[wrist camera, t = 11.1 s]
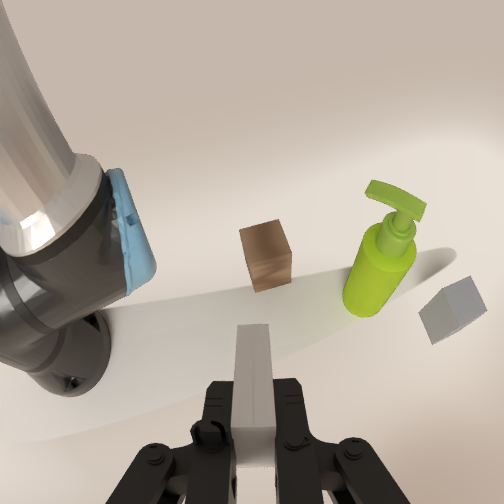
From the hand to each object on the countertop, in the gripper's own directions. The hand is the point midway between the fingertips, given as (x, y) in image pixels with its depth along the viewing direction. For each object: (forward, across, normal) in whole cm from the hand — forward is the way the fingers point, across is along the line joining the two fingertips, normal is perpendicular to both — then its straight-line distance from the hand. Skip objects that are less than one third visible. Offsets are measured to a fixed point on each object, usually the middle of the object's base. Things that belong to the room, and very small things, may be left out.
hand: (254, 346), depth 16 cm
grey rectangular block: (+19, +25, -13) cm, 34 cm away
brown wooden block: (+28, +2, -8) cm, 29 cm away
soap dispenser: (+24, +14, -10) cm, 30 cm away
